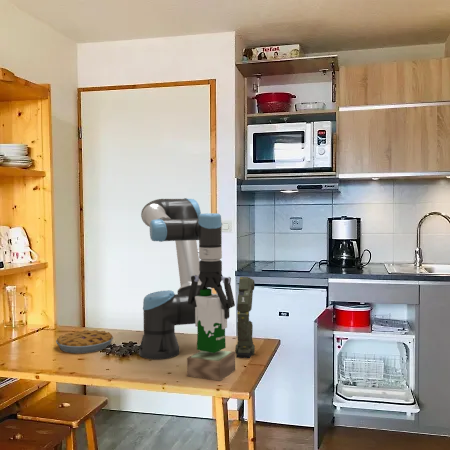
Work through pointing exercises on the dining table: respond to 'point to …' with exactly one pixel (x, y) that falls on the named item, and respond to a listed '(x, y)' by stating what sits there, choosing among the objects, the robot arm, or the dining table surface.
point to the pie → (84, 341)
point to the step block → (211, 365)
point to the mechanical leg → (244, 319)
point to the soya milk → (209, 322)
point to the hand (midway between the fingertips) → (211, 326)
